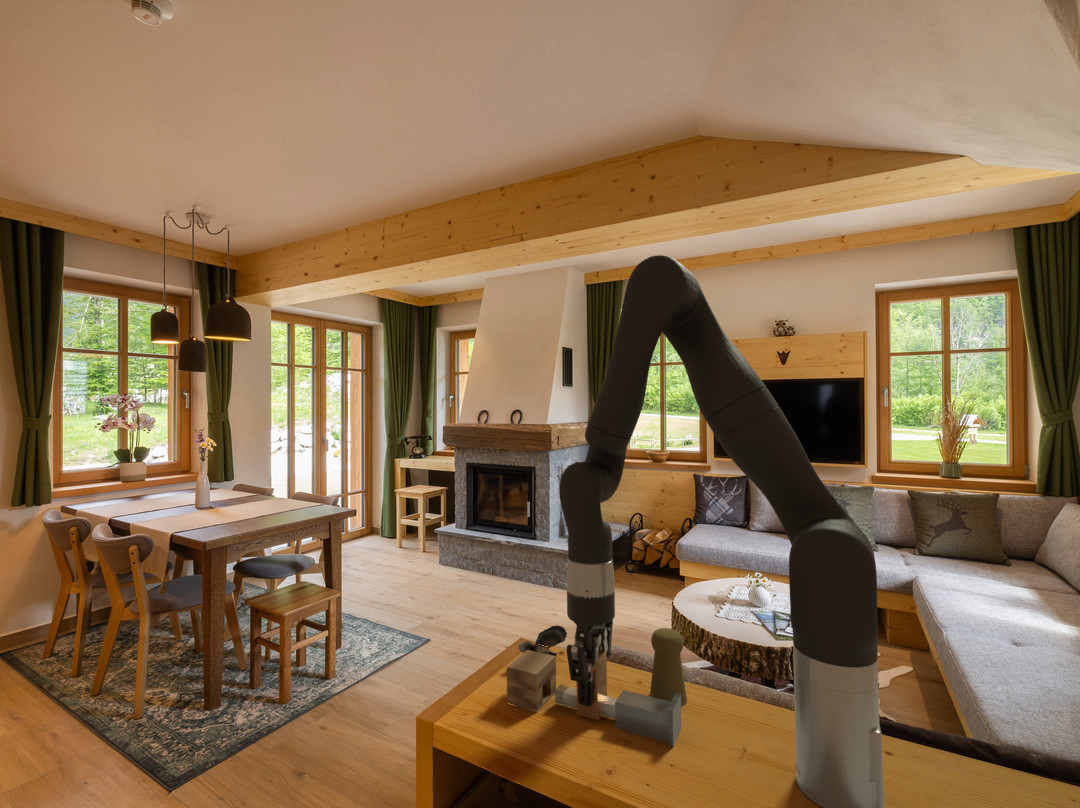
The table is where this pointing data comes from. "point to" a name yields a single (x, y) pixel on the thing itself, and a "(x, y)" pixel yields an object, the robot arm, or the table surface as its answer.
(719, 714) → the table surface
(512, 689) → the socket block
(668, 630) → the olive green pawn
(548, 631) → the eagle figurine
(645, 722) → the sleeve
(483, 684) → the table surface
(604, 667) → the bar
